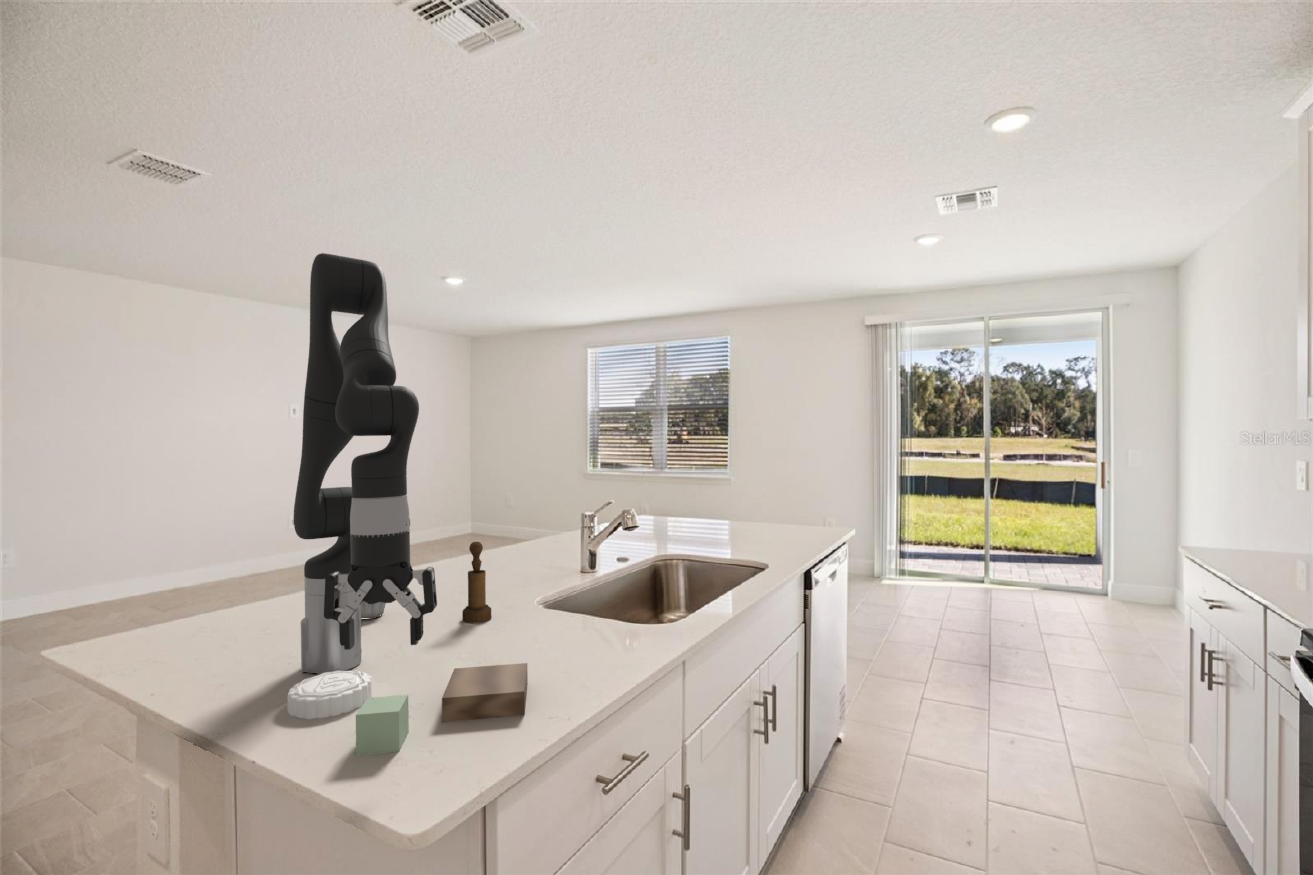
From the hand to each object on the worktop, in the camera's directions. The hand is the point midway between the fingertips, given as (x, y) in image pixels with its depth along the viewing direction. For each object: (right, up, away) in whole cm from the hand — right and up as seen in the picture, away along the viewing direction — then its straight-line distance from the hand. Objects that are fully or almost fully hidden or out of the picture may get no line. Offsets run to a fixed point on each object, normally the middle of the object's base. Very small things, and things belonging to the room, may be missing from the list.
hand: (382, 645), depth 86 cm
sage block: (0, -14, 0) cm, 14 cm away
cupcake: (-31, -14, +62) cm, 70 cm away
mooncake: (-14, -14, +14) cm, 25 cm away
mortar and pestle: (-4, -14, +58) cm, 60 cm away
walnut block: (+11, -14, +13) cm, 22 cm away
